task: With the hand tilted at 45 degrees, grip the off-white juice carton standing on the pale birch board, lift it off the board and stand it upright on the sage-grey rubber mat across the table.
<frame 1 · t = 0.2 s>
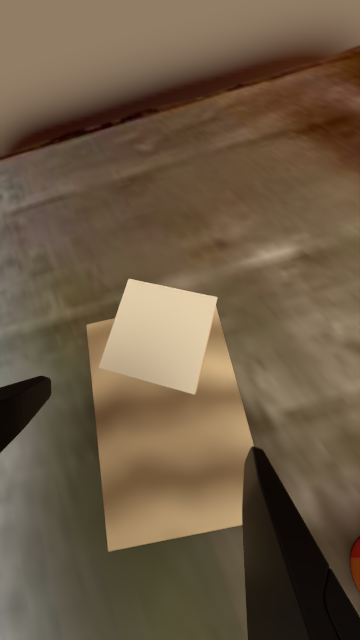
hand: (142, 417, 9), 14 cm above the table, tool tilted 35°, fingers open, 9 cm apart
board: (169, 405, 23), on the table
carton: (176, 352, 22), point 2 cm above the table, touching board
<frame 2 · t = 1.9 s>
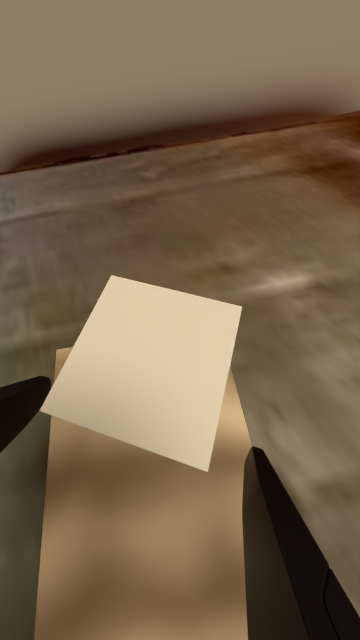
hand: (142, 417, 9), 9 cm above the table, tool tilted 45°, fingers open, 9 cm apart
board: (155, 468, 16), on the table
carton: (170, 391, 17), point 2 cm above the table, touching board
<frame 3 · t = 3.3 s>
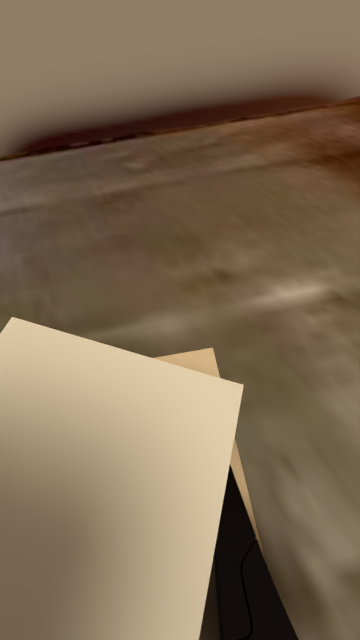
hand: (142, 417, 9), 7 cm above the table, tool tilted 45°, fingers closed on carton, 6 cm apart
board: (129, 545, 12), on the table
carton: (148, 443, 13), point 2 cm above the table, touching board, gripper
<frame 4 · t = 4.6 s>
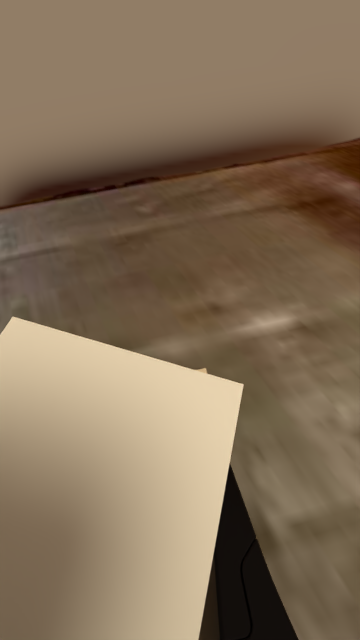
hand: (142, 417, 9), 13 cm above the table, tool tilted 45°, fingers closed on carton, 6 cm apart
carton: (149, 442, 13), point 8 cm above the table, touching gripper
when the fingers open (7 cm above the table, at t = 8.5 s): carton drops 2 cm, resting on mat.
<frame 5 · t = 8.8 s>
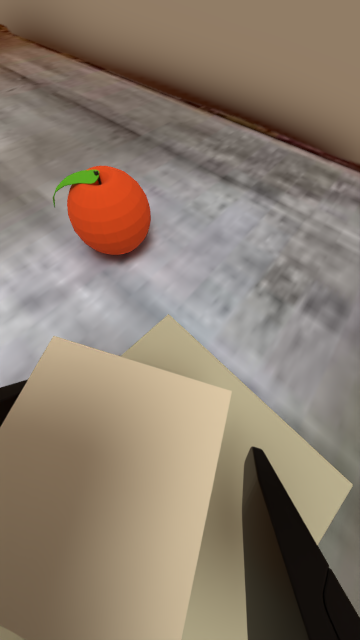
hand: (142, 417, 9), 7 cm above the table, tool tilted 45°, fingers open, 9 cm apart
clementine: (117, 244, 23), on the table
mat: (126, 520, 13), on the table
carton: (153, 438, 14), point 1 cm above the table, touching mat
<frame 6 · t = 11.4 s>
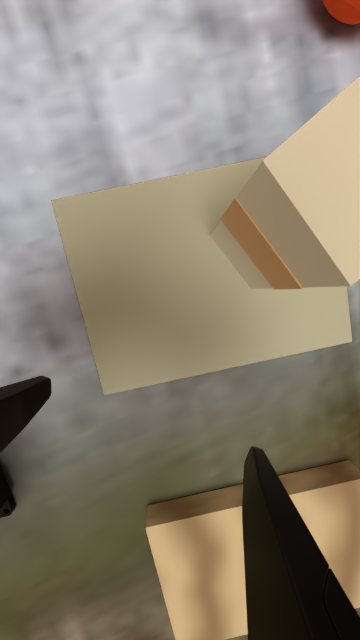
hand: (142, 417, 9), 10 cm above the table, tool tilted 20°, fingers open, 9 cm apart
board: (260, 542, 22), on the table
clementine: (335, 1, 16), on the table
mat: (210, 276, 18), on the table
carton: (257, 240, 17), point 1 cm above the table, touching mat
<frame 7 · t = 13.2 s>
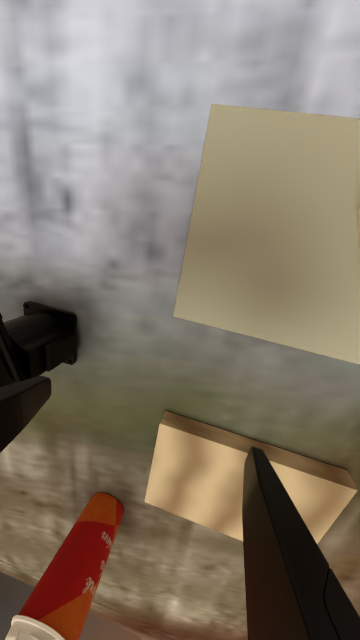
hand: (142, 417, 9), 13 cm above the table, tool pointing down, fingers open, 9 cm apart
paper cup: (108, 503, 35), on the table
board: (233, 479, 27), on the table
mat: (327, 253, 17), on the table
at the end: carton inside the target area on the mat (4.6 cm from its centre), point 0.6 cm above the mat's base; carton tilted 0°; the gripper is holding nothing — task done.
